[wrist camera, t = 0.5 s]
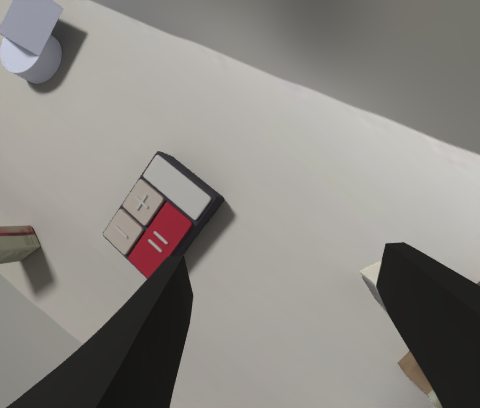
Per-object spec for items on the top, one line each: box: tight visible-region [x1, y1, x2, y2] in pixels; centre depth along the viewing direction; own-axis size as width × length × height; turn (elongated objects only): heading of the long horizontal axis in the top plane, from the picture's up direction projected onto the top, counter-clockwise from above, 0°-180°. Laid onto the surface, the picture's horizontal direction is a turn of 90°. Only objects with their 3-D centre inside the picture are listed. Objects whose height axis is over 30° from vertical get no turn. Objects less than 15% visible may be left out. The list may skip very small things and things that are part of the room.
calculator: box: [103, 151, 224, 279], centre depth 36 cm, size 11×4×15 cm
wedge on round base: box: [0, 0, 64, 84], centre depth 41 cm, size 9×7×13 cm
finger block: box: [359, 260, 386, 309], centre depth 27 cm, size 4×5×6 cm
